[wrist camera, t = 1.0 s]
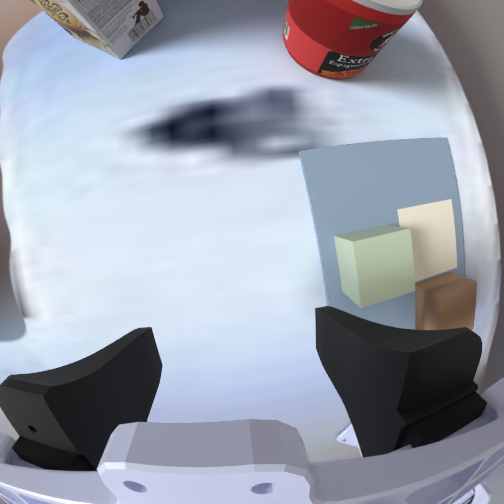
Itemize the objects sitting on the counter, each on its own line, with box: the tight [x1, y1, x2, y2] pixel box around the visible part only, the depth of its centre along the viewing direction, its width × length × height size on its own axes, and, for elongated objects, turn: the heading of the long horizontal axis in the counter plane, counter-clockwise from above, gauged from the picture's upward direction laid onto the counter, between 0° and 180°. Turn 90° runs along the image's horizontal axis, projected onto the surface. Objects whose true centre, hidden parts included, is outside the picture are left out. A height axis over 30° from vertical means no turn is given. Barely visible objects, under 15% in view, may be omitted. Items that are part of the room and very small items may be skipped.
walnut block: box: [415, 272, 477, 330], centre depth 20 cm, size 4×4×4 cm
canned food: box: [283, 0, 423, 79], centre depth 13 cm, size 8×8×11 cm
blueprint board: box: [299, 138, 465, 330], centre depth 21 cm, size 20×15×1 cm
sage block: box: [334, 225, 415, 308], centre depth 19 cm, size 4×4×4 cm
